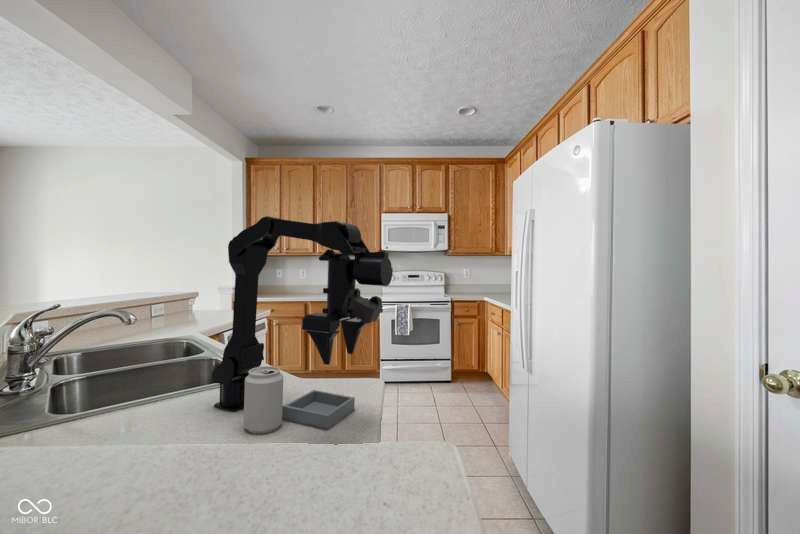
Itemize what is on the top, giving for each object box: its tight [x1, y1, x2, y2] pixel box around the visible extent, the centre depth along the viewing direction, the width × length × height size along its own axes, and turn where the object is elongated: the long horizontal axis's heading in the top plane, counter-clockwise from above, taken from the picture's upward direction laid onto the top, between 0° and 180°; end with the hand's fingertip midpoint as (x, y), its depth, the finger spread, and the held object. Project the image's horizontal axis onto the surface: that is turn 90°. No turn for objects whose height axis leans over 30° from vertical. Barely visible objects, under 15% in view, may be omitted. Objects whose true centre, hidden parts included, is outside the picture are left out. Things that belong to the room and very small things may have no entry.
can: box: [243, 365, 284, 435], centre depth 76 cm, size 8×8×12 cm
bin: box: [282, 389, 356, 431], centre depth 83 cm, size 11×11×3 cm
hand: (339, 358), depth 76 cm, fingers open, 9 cm apart
